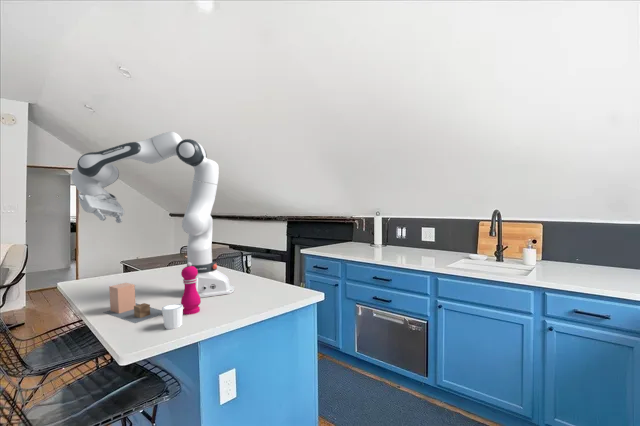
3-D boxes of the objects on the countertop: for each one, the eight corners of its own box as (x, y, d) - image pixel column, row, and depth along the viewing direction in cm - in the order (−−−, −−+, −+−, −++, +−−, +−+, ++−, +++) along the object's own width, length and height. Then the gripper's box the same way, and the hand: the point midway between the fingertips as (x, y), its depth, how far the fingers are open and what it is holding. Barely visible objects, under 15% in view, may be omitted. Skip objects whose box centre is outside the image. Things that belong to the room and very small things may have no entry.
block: (144, 313, 131) (144, 303, 131) (150, 314, 129) (149, 304, 129) (134, 316, 128) (133, 305, 128) (140, 318, 126) (139, 307, 126)
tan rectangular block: (127, 306, 141) (126, 282, 140) (135, 308, 137) (134, 284, 137) (110, 310, 135) (109, 286, 135) (119, 313, 132) (117, 288, 131)
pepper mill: (189, 317, 126) (186, 264, 125) (177, 314, 130) (175, 263, 129) (205, 311, 132) (202, 261, 131) (193, 308, 136) (191, 260, 135)
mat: (102, 313, 134) (102, 312, 134) (135, 304, 144) (135, 303, 144) (135, 324, 121) (135, 323, 121) (168, 313, 131) (168, 312, 131)
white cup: (167, 323, 121) (166, 304, 121) (186, 322, 121) (185, 303, 121) (159, 330, 114) (158, 310, 114) (180, 329, 115) (179, 309, 114)
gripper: (82, 187, 138) (98, 212, 135) (118, 197, 158) (133, 219, 155) (70, 197, 138) (87, 222, 135) (108, 205, 158) (123, 227, 155)
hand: (112, 220), depth 146 cm, fingers open, 8 cm apart
